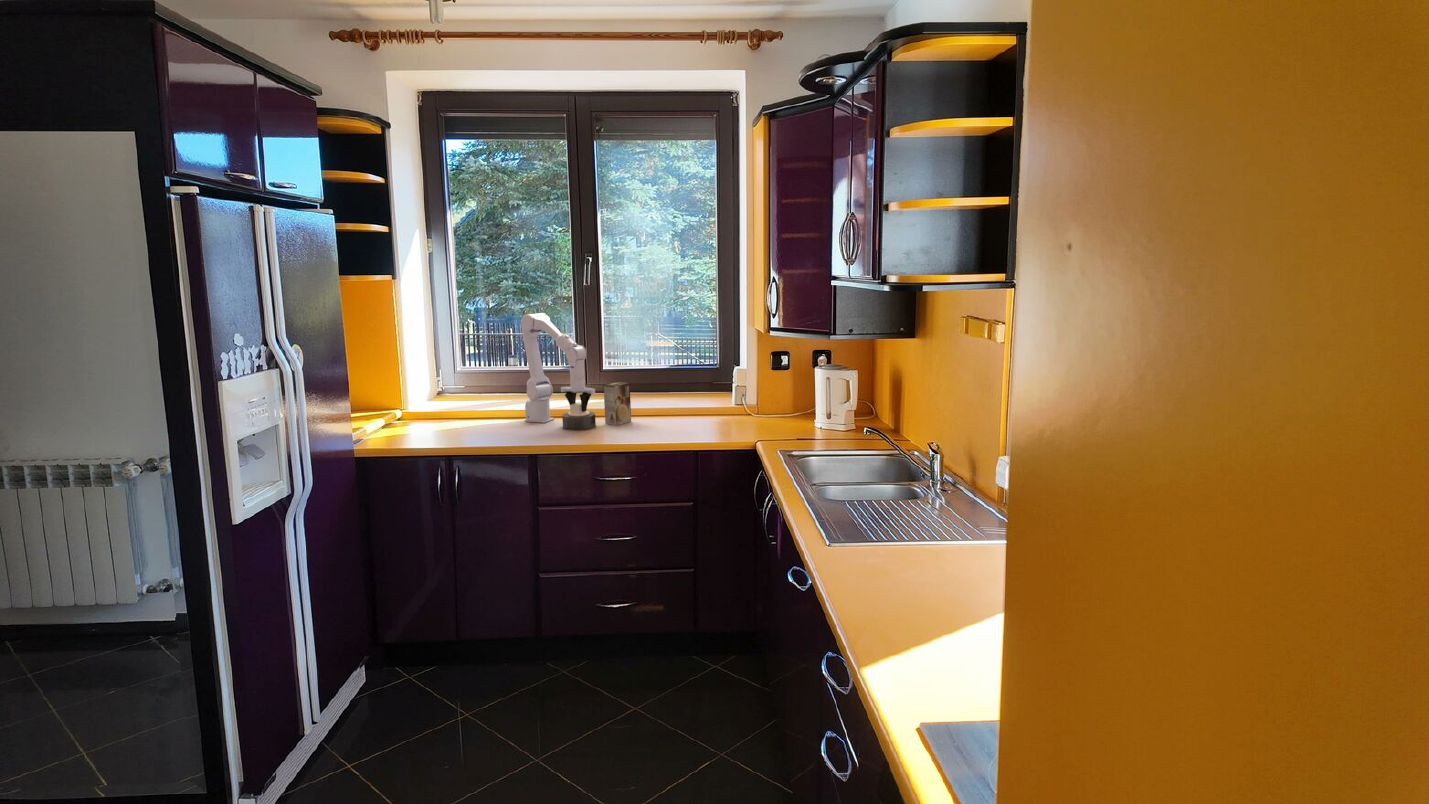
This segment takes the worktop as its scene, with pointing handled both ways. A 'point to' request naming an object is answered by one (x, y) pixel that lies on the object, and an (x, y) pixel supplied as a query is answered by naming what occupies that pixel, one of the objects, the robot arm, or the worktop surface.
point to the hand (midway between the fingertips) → (578, 410)
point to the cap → (577, 410)
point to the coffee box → (617, 403)
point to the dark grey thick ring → (579, 422)
